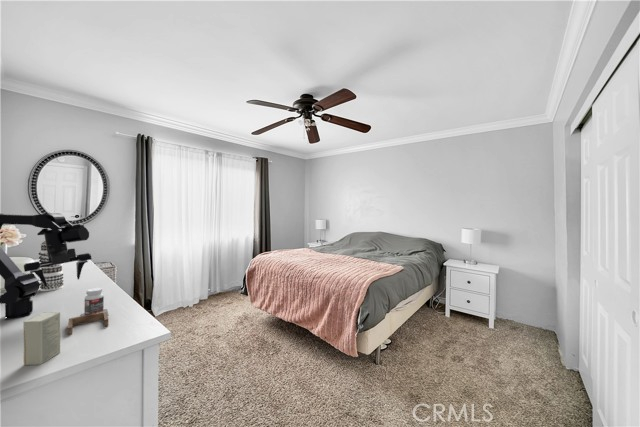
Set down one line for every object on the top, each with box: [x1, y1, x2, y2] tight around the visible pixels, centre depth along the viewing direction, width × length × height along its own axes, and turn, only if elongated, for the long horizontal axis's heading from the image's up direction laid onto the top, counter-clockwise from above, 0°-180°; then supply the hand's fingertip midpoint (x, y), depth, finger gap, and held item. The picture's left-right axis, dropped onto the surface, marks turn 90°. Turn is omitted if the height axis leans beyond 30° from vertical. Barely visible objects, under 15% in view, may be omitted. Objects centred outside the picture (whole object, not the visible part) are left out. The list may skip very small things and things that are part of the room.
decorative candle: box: [38, 240, 64, 292], centre depth 133 cm, size 9×9×25 cm
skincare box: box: [23, 311, 61, 366], centre depth 73 cm, size 6×4×12 cm
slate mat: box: [80, 308, 109, 317], centre depth 102 cm, size 8×8×1 cm
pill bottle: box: [83, 287, 105, 315], centre depth 102 cm, size 6×6×10 cm
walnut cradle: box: [67, 310, 109, 336], centre depth 93 cm, size 10×10×2 cm
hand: (62, 282), depth 103 cm, fingers open, 9 cm apart
